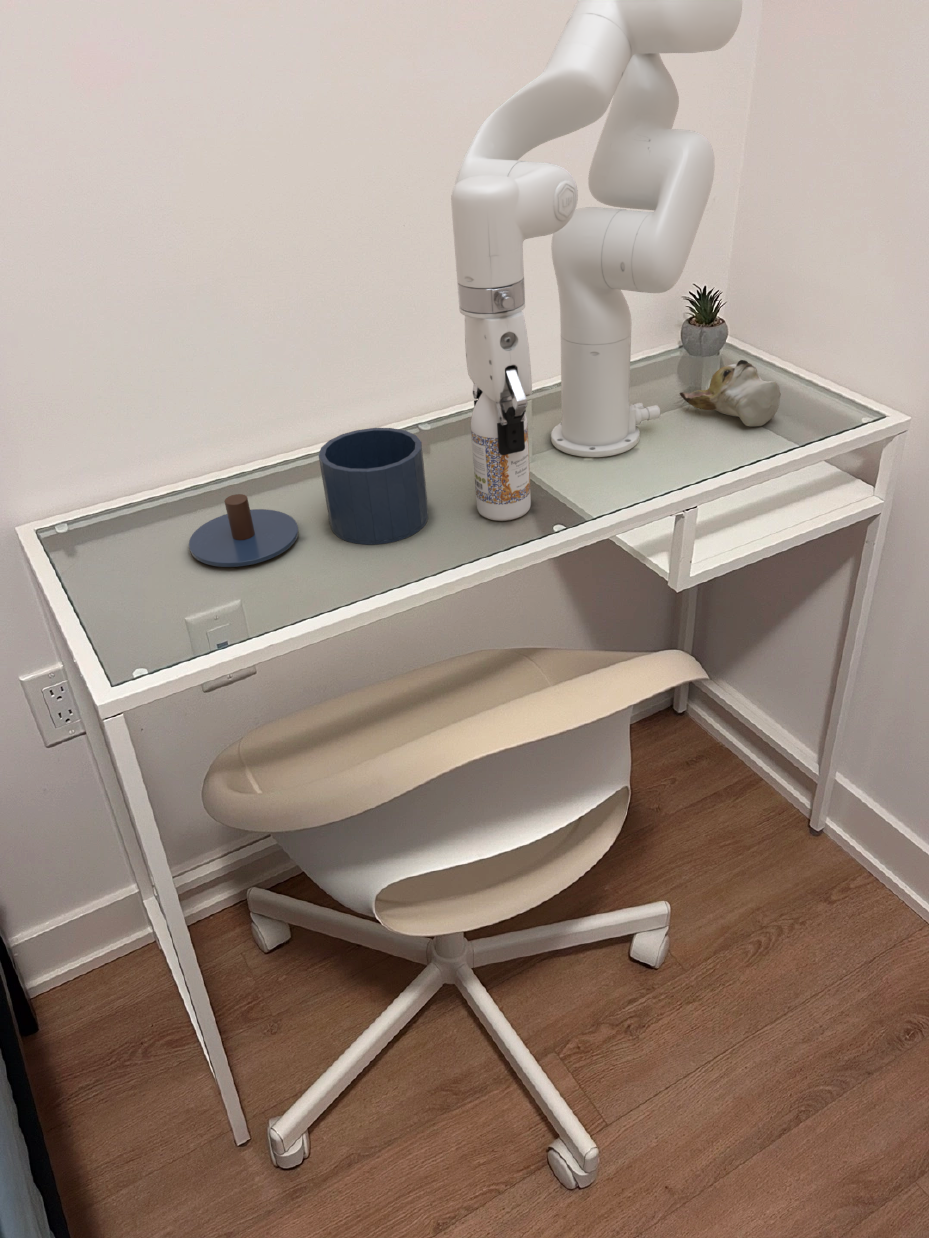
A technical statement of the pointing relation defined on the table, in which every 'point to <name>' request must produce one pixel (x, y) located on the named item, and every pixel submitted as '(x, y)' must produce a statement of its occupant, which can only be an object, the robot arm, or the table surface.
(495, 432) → the bath foam
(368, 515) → the tin
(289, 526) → the tin lid
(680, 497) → the table surface
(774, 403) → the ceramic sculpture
